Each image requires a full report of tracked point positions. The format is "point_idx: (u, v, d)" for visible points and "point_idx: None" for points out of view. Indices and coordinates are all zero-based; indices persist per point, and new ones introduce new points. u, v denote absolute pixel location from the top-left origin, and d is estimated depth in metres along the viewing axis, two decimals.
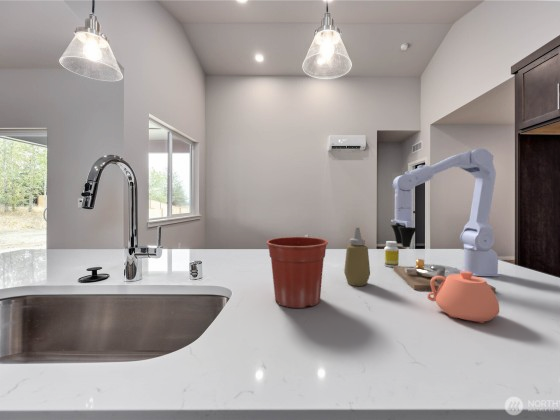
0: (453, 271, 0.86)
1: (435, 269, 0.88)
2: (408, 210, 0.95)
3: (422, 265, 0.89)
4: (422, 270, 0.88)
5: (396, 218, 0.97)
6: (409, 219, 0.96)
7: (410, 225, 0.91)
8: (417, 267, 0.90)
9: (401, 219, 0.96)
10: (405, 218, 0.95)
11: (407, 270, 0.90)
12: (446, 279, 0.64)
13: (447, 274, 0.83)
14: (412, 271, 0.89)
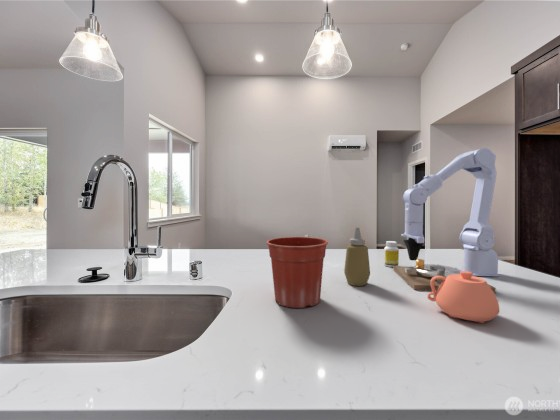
0: (453, 271, 0.86)
1: (435, 269, 0.88)
2: (419, 225, 0.93)
3: (422, 265, 0.89)
4: (422, 270, 0.88)
5: (406, 232, 0.95)
6: (420, 234, 0.93)
7: (422, 241, 0.89)
8: (417, 267, 0.90)
9: (412, 234, 0.94)
10: (416, 233, 0.93)
11: (407, 270, 0.90)
12: (446, 279, 0.64)
13: (447, 274, 0.83)
14: (412, 271, 0.89)
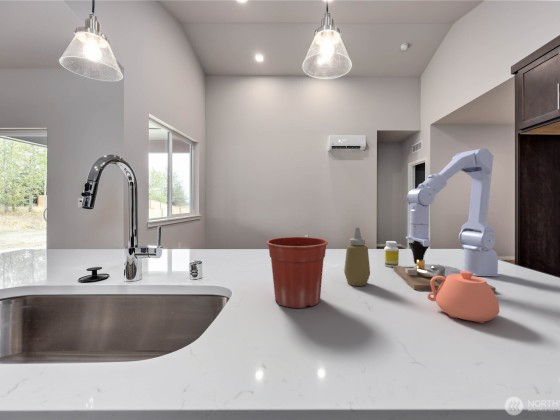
0: (453, 271, 0.87)
1: (436, 269, 0.88)
2: (425, 227, 0.88)
3: (423, 265, 0.88)
4: (423, 270, 0.87)
5: (411, 235, 0.90)
6: (426, 236, 0.88)
7: (428, 244, 0.84)
8: (418, 267, 0.89)
9: (417, 236, 0.88)
10: (422, 235, 0.88)
11: (408, 271, 0.89)
12: (446, 279, 0.64)
13: (448, 274, 0.83)
14: (413, 271, 0.89)
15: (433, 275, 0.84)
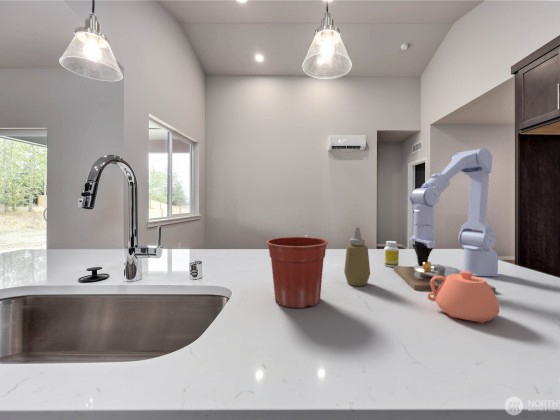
0: (451, 269, 0.89)
1: (440, 269, 0.87)
2: (429, 228, 0.85)
3: (430, 267, 0.86)
4: (432, 272, 0.85)
5: (415, 236, 0.87)
6: (430, 238, 0.85)
7: (433, 246, 0.81)
8: (426, 270, 0.86)
9: (421, 238, 0.86)
10: (426, 237, 0.85)
11: (420, 275, 0.84)
12: (446, 279, 0.64)
13: (456, 273, 0.84)
14: (423, 275, 0.85)
15: (446, 276, 0.82)
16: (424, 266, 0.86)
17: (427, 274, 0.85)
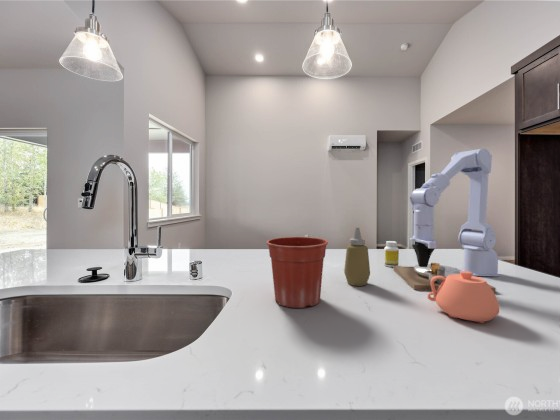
0: (446, 267, 0.91)
1: (443, 269, 0.87)
2: (430, 228, 0.84)
3: None
4: None
5: (416, 236, 0.87)
6: (431, 238, 0.85)
7: (433, 246, 0.80)
8: (436, 272, 0.84)
9: (422, 238, 0.85)
10: (426, 237, 0.85)
11: None
12: (446, 279, 0.64)
13: (459, 272, 0.86)
14: None
15: None
16: (434, 268, 0.84)
17: None
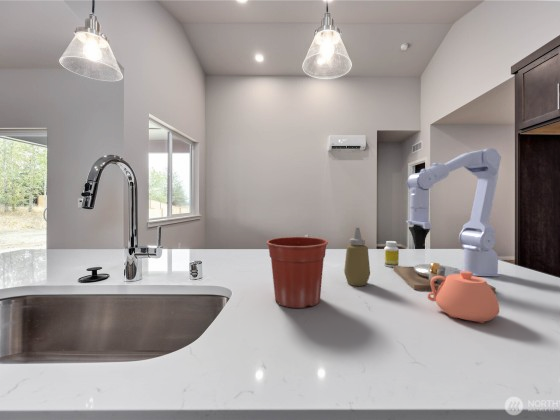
0: (446, 267, 0.91)
1: (443, 269, 0.87)
2: (425, 210, 0.89)
3: None
4: None
5: (412, 219, 0.91)
6: (426, 220, 0.89)
7: (428, 226, 0.85)
8: (436, 272, 0.84)
9: (418, 220, 0.89)
10: (422, 219, 0.89)
11: None
12: (446, 279, 0.64)
13: (459, 272, 0.86)
14: None
15: None
16: (434, 268, 0.84)
17: None
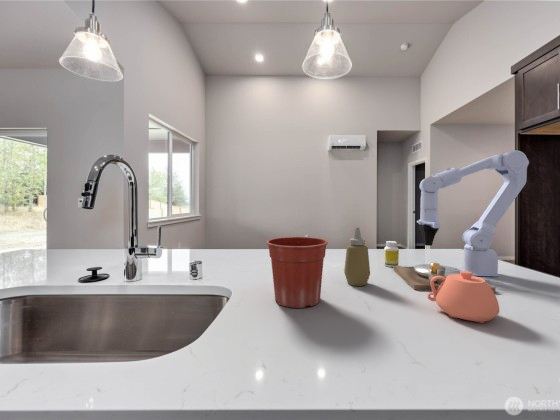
0: (446, 267, 0.91)
1: (443, 269, 0.87)
2: (434, 211, 0.98)
3: None
4: None
5: (422, 219, 1.00)
6: (435, 220, 0.99)
7: (437, 226, 0.94)
8: (436, 272, 0.84)
9: (427, 220, 0.99)
10: (431, 219, 0.98)
11: None
12: (446, 279, 0.64)
13: (459, 272, 0.86)
14: None
15: None
16: (434, 268, 0.84)
17: None
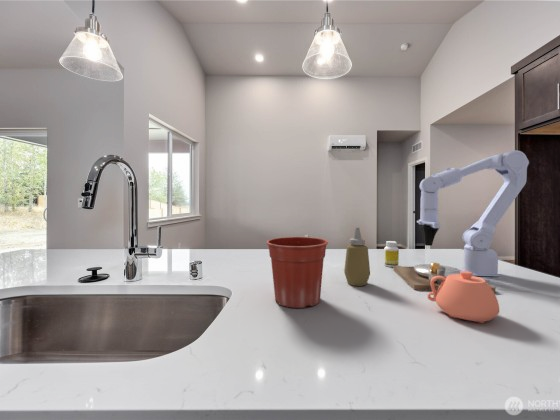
0: (446, 267, 0.91)
1: (443, 269, 0.87)
2: (434, 211, 0.98)
3: None
4: None
5: (422, 219, 1.00)
6: (435, 220, 0.99)
7: (437, 226, 0.94)
8: (436, 272, 0.84)
9: (427, 220, 0.99)
10: (431, 219, 0.98)
11: None
12: (446, 279, 0.64)
13: (459, 272, 0.86)
14: None
15: None
16: (434, 268, 0.84)
17: None
